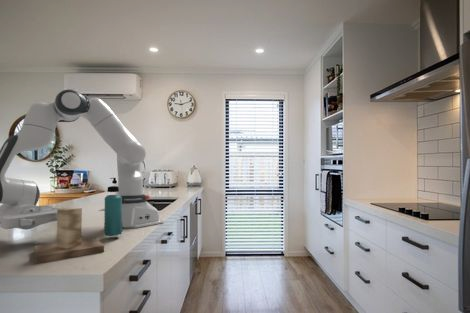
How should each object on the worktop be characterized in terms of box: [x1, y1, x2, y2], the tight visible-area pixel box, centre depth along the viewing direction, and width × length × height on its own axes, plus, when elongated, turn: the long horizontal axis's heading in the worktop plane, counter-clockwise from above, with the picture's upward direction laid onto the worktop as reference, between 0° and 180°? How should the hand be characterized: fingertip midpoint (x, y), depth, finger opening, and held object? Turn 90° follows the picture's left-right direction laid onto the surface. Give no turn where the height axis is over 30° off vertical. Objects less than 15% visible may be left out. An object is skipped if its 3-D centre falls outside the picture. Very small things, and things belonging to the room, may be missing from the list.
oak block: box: [56, 206, 83, 249], centre depth 92 cm, size 5×5×12 cm
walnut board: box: [33, 236, 105, 265], centre depth 92 cm, size 18×14×2 cm
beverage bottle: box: [103, 185, 123, 237], centre depth 110 cm, size 6×7×20 cm
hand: (48, 220), depth 97 cm, fingers open, 8 cm apart
